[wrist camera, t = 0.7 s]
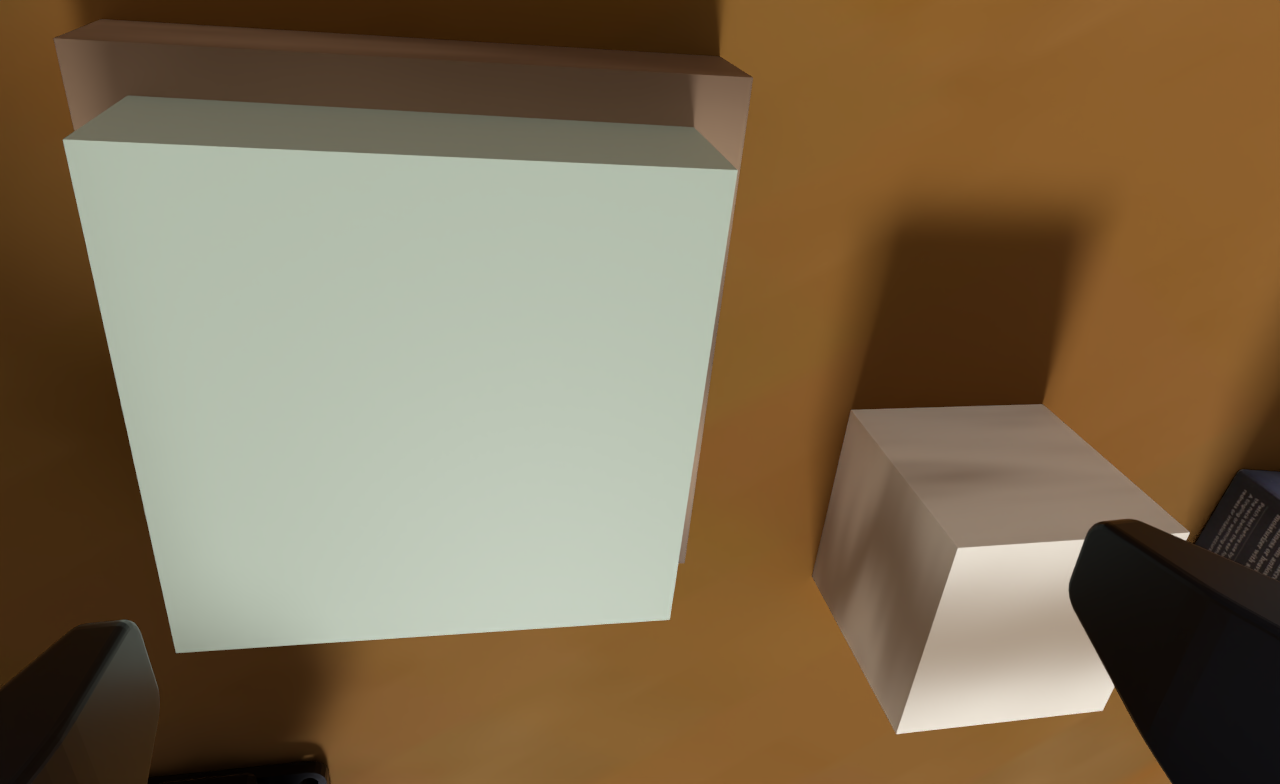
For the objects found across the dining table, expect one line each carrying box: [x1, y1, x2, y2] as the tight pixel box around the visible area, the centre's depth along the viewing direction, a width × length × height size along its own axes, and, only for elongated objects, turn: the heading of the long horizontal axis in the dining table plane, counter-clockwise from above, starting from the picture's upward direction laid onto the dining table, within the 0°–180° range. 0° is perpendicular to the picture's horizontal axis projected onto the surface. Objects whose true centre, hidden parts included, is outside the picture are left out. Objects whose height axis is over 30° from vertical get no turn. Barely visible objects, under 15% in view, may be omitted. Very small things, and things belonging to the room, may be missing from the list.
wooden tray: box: [53, 19, 753, 563], centre depth 20 cm, size 12×12×3 cm
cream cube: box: [812, 404, 1190, 734], centre depth 24 cm, size 6×6×6 cm
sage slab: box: [63, 96, 738, 653], centre depth 17 cm, size 10×10×3 cm
